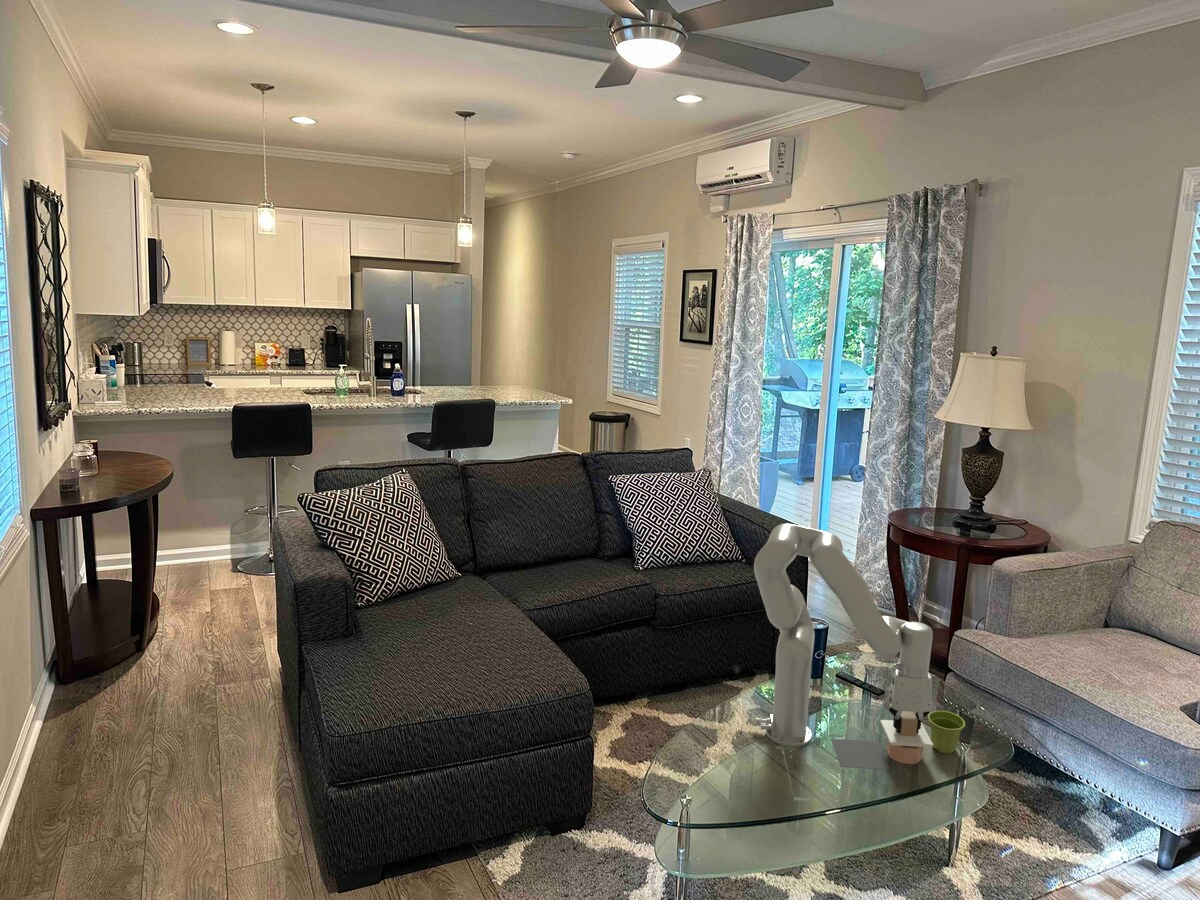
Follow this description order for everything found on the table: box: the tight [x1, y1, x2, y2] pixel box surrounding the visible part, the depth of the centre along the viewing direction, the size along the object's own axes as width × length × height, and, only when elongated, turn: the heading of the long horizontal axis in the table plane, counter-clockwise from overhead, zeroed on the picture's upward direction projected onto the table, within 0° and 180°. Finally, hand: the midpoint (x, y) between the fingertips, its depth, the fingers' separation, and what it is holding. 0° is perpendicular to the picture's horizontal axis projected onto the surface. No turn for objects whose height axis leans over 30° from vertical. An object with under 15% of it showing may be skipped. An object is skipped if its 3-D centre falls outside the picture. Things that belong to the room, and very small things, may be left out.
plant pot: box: [927, 710, 966, 755], centre depth 232 cm, size 9×9×9 cm
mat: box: [830, 738, 891, 771], centre depth 229 cm, size 13×13×1 cm
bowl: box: [885, 739, 924, 765], centre depth 228 cm, size 9×9×5 cm
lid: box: [879, 711, 933, 748], centre depth 227 cm, size 11×11×6 cm
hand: (906, 729), depth 227 cm, fingers closed on lid, 4 cm apart
